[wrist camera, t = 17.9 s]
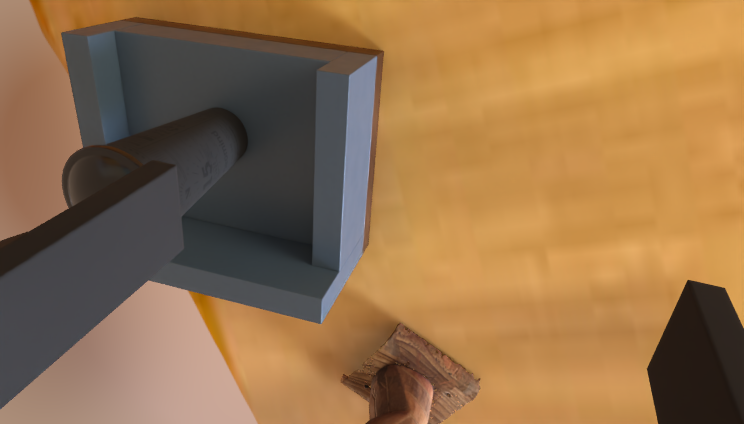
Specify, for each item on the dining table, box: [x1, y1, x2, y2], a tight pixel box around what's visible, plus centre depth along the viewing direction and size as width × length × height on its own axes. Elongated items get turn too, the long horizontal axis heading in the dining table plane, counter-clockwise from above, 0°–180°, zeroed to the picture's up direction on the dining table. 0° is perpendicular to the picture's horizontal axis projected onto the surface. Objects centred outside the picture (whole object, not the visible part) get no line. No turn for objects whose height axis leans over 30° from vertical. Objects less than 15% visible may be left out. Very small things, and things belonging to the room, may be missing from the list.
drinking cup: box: [62, 108, 248, 217], centre depth 38 cm, size 8×8×20 cm
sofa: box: [61, 17, 384, 324], centre depth 47 cm, size 19×24×13 cm
